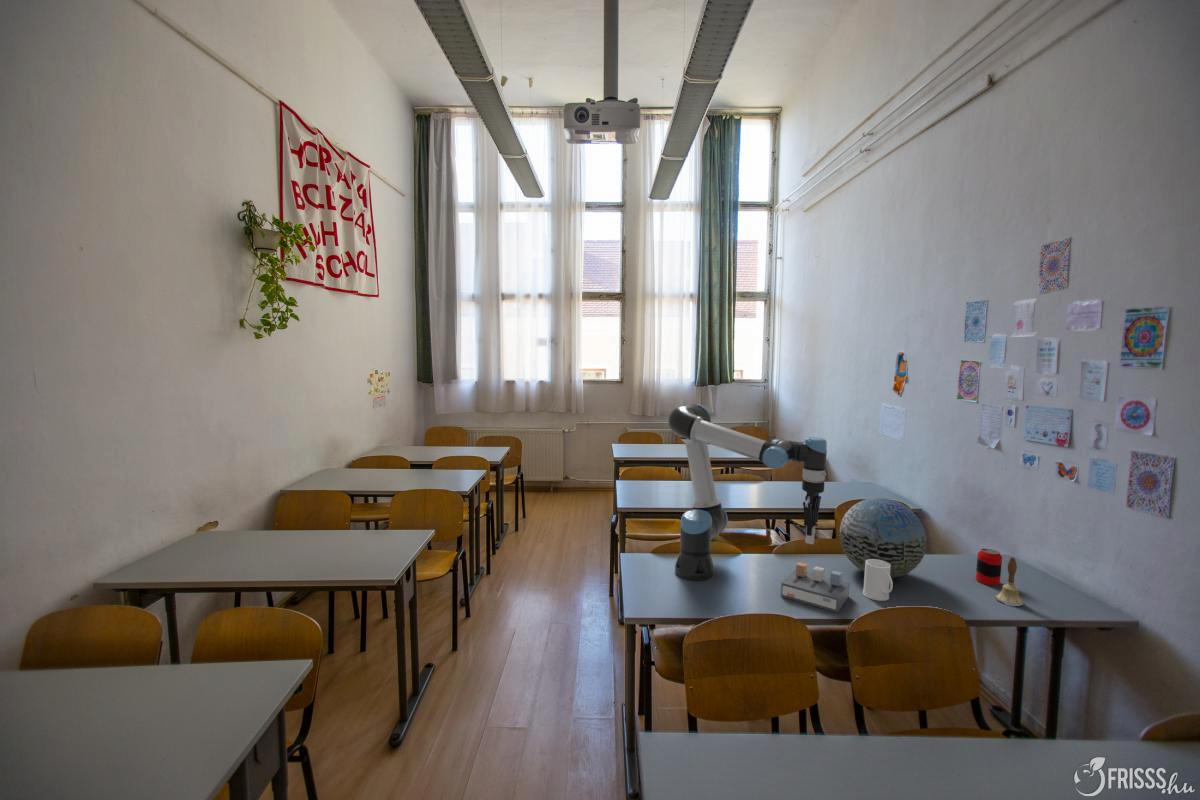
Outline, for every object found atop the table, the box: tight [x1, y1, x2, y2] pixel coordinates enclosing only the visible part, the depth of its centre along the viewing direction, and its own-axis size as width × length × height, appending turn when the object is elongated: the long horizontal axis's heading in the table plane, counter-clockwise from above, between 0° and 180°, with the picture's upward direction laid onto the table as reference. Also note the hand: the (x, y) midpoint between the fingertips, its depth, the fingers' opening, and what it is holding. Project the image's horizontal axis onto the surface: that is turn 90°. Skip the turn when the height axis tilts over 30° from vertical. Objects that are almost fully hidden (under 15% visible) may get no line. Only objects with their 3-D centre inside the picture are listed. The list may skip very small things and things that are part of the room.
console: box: [780, 568, 850, 613], centre depth 197 cm, size 19×16×5 cm
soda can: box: [975, 548, 1003, 586], centre depth 212 cm, size 8×8×12 cm
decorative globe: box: [839, 497, 927, 579], centre depth 216 cm, size 30×30×30 cm
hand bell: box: [995, 556, 1024, 604], centre depth 195 cm, size 8×8×16 cm
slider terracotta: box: [795, 561, 808, 577], centre depth 203 cm, size 3×3×4 cm
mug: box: [862, 559, 894, 602], centre depth 197 cm, size 12×8×12 cm
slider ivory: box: [812, 566, 825, 582], centre depth 199 cm, size 3×3×4 cm
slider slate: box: [829, 570, 843, 586], centre depth 196 cm, size 3×3×4 cm
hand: (809, 543), depth 205 cm, fingers closed
